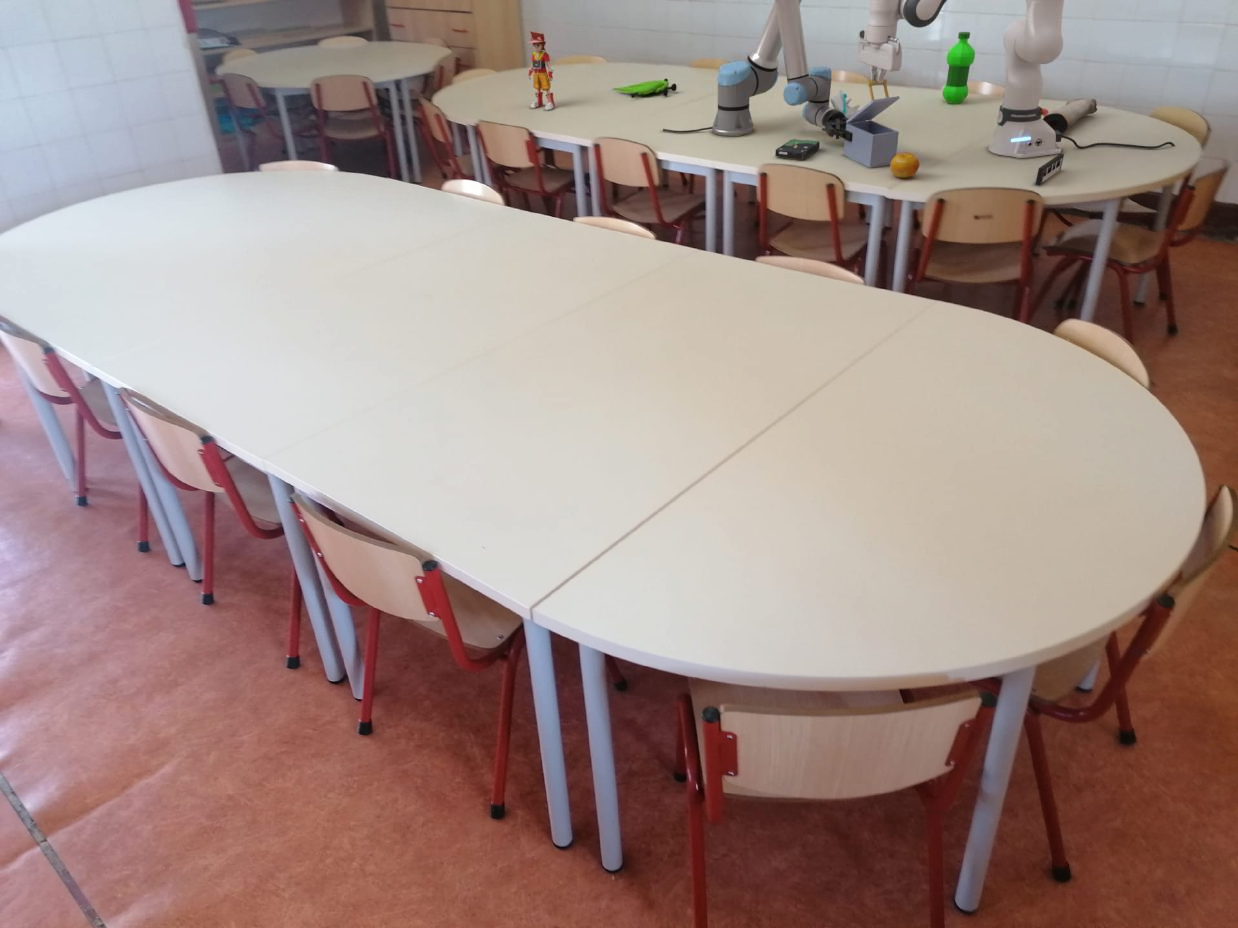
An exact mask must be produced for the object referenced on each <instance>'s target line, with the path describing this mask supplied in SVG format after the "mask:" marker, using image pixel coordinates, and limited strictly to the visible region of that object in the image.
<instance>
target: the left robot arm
mask: <svg viewBox="0 0 1238 928" xmlns="http://www.w3.org/2000/svg"><path fill="white" fill-rule="evenodd" d="M802 1H803V0H774V2H773V5H772V7H771V10H770V12H769V15H768V17H767V20H766V22H765V25H764V27H763V29H762V31H761V34H760V37H759V39H758V41H757V44H756V47H755V49H752V50H750V51H749V53H748V55H747V57H746V60H745V61H744V60H736V61H732V62H727V63H724V64H722V65H721V66H720V67H719V68H718V70H717V71H718V73H717V74H718V75H717V111H716V114H715V118H714V120H713V124H712V126H708V127H703V128H698V129H697V128H696V129H689V130H676V129H675V130H674V129H667V128H662V131H663V132H668V133H674V134H675V133H677V134H685V133H686V134H687V133H696V132H701V131H707V130H712V133H713V134H715V135H717V136H721V137H741V136H746V135H750V134H752V133H754V127H755V126H754V122H753V118H752V115H751V111H750V98H751V97H755V96H758V95H762V94H765V93H766V92H768V91H770V90H771V89H773V87H775V85H776V83H777V81H778V80H779V79H778V78H779V71H778V70H779V68H778V67H779V61H778V56H779V54H780V51H781V49H782V54H783V62H784V68H785V73H786V74H785V75H786V81H787V84H786V86H785V87H784V89H783V95H782V96H783V100H784V101H785V103H786V104H787V105H789V106H791V107H796V106H801V105H803V104H804V107H803V109H802V117H803V119H804V120H805V121H806V122H808V123H809V124H810V125H813V126H816V127H818V128H820V129H821V131H823V132H825V134H827V135H828V136H829V137H830V138H834V136H835V139H836V140H839V139H843V140H844V141H845V140H847V141H849V142H851V141H852V133H851V132H849V131H847V130H846V124H849V123H847V122H846V121H847V120H848V118H846V117H845V115H844V114H843V113H842V112H841V111H838V110H836V109H834V107H831V106H830V101H831V88H832V80H833V79H832V68H830V67H827V66H814V67H812V68H811V69H810V71H809V66H808V65H809V64H808V57H807V50H806V44H805V37H804V29H803V22H802V14H801V8H800V7H801V6H800V5H801V3H802ZM860 122H862V121H860ZM853 123H855V122H853Z"/></svg>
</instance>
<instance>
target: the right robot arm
mask: <svg viewBox="0 0 1238 928" xmlns="http://www.w3.org/2000/svg"><path fill="white" fill-rule="evenodd" d="M947 1H948V0H869V6H868V7H869V8H868V10H869V18H868V21H867V27H865V28H863V29H861V30H859V31H858V34H857V37H858V38H859V39H858V42H857V55H856V56H857V57H856V58H857V61H858V62H859V63H862V64H865V65H868V66H869V70H870V81H876V82H877V83H882V82H883V80H884V79H885V76H886V73H887V72H892V73H893V72H899V71H900V69H901V67H902V61H903V49H902V44H901V42H900V40H899V38H897V31H898V22H899V21H900V20H903V21H905V22H906V23H908V24H909V25H910V26H912V27H914V28H918V29H919V28H925V27H928V26H929V25H931V24H932V23H933V22H934V21H936V19H937V17H938V16H939V14H940V12H941V10H942V9H943V7H944V5H945V3H947ZM1064 3H1065V0H1025V4H1026V18H1024V19H1017V20H1015V21H1013V22H1012V23H1010V24H1009V25H1008V26H1007V27H1006V29H1005V30H1004V33H1003V36H1002V43H1003V46H1004V50H1005V83H1004V90H1003V96H1002V102H1001V104H1000V105H999V110H998V113H997V122H996V123H997V124H996V128H995V132H994V135H993V137H992V140H991V143H990V145H989V147H988V151H989V152H991V153H993V154H995V155H1000V156H1004V157H1013V158H1016V159H1028V158H1035V157H1043V156H1051V155H1059V154H1062V147H1061V145H1059V144H1058V143H1061V142H1062V139H1064V140H1068V141H1070V142H1072V143H1073V145H1074V146H1075V147H1076V148H1077V149H1080V150H1083V149H1088V148H1092V147H1095V146H1113V147H1114V146H1115V147H1125V148H1126V147H1127V148H1136V149H1146V150H1147V149H1148V150H1149V149H1150V150H1151V149H1152V150H1153V149H1154V150H1155V149H1159V148H1163V147H1164V146H1167V145H1170V146H1171V147H1176V145H1175V143H1174V142H1172V141H1167V142H1164V143H1162V144H1159V145H1148V146H1147V145H1138V144H1128V143H1118V142H1117V143H1115V142H1095V143H1091V144H1088V145H1085V146H1082V145H1079V144H1078V143H1077V141H1076V140H1075V139H1074V138H1072V137H1070V136H1066V135H1063V134H1062V133H1061V132H1059V131H1058V130H1053V129H1052V128H1051V127H1050V126H1049V125H1048V124H1047V123H1046V122H1045V121H1044V120H1043V117H1045V116H1047V115H1048V114H1050V111H1049V109H1047V108H1043V107H1041V106H1039V104H1040V98H1041V94H1042V88H1043V85H1044V78H1043V75H1042V69H1041V67H1042V66H1041V65H1047V64H1050V63H1052V62H1054V61H1055V60H1057V58H1059V56H1060V55H1061V52H1062V51H1063V48H1064V39H1063V38H1064V37H1063V34H1062V23H1063V22H1062V21H1063V10H1064ZM1042 116H1043V117H1042Z"/></svg>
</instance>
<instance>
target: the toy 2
mask: <svg viewBox="0 0 1238 928" xmlns="http://www.w3.org/2000/svg"><path fill="white" fill-rule="evenodd" d="M669 85H670V83H669V79H668V78H664V79H663V80H649V81H644V82H640V83H634V84H629V85H627V86H621V87H613V88H612V89H613V90H616V91H619V92H623V93H627V94H628V93H629V94H631V95H630V96H631V98H632V99H634V98H636V96H637V95H650V94H652V93H654V94H658V93H662V95H663V96H665V97H667V96H668V95H669V90H671V91H672V92H676V91H677V84H676V83H672V84H671V86H669Z"/></svg>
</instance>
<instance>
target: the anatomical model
mask: <svg viewBox="0 0 1238 928" xmlns="http://www.w3.org/2000/svg"><path fill="white" fill-rule="evenodd" d="M847 97H848V95H847V92H845V91H844V90H842V89H841V90H839V93H837V95H833V96H830V103H831V106H832V108H834V109H836V110H838V111H841V112H842V113H843V114H844V115H845V117H846V118H848V119H850V118H851V117H852V116H853V115H855V114H856V113H857V112H858V110H859V108H860V106H861V104H856V105H854V106H850V105H849V104H850V102H851V101H852V98H848V99H847Z"/></svg>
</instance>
